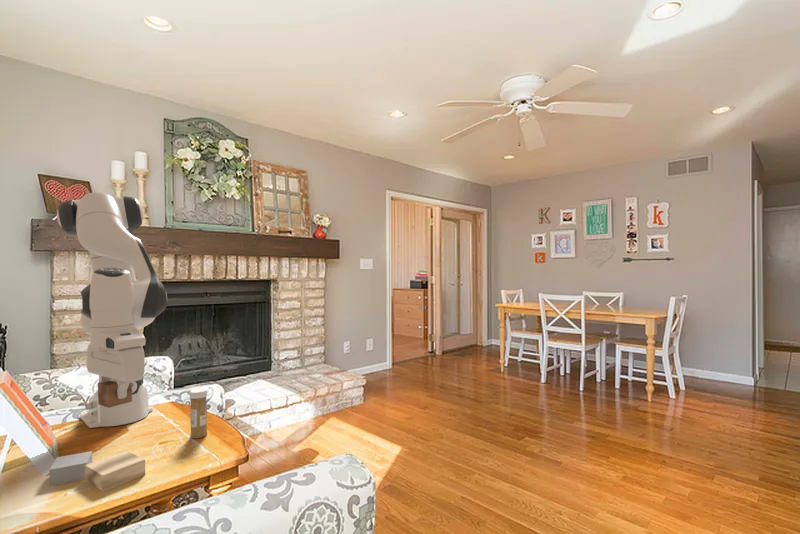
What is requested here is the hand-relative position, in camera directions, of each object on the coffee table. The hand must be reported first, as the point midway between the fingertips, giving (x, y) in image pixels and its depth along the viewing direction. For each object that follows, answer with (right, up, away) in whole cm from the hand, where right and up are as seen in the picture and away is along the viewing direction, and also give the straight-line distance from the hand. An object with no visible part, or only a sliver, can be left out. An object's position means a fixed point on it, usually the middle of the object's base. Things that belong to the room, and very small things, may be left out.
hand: (114, 395), depth 101 cm
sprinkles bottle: (+8, -19, +25) cm, 33 cm away
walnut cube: (0, -2, 0) cm, 2 cm away
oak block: (0, -20, 0) cm, 20 cm away
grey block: (-11, -20, +1) cm, 23 cm away
